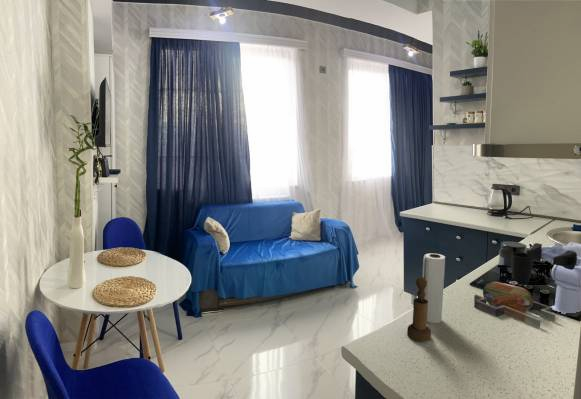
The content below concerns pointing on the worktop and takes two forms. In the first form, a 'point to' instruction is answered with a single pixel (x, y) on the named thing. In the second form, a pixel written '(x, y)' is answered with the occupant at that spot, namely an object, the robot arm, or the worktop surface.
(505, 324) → the worktop surface
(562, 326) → the worktop surface
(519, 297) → the tin
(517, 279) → the cup
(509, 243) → the supplement container
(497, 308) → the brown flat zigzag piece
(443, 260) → the paper towel roll
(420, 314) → the mortar and pestle
